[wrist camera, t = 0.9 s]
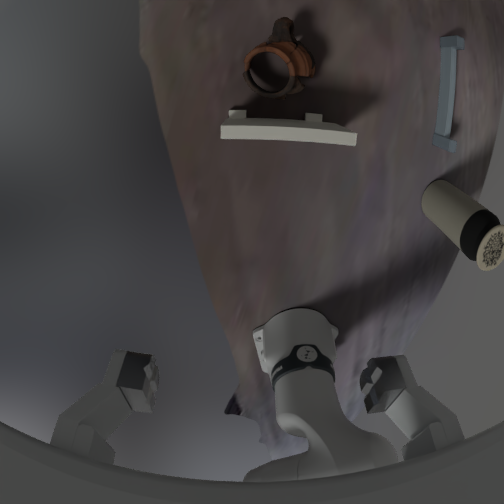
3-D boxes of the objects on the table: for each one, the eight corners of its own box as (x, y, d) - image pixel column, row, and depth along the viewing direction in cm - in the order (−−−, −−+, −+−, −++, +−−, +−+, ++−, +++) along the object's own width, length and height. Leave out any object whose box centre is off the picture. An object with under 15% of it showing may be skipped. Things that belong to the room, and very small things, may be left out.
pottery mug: (320, 93, 38) (303, 107, 33) (261, 87, 41) (236, 101, 37) (320, 18, 30) (302, 17, 25) (257, 17, 33) (229, 19, 28)
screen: (333, 140, 41) (354, 155, 33) (227, 135, 41) (220, 148, 33) (335, 115, 39) (358, 123, 31) (227, 109, 39) (220, 115, 31)
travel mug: (420, 222, 48) (472, 278, 33) (419, 182, 44) (480, 230, 29) (452, 214, 47) (507, 264, 32) (453, 176, 43) (516, 219, 28)
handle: (439, 145, 41) (455, 153, 36) (432, 144, 41) (448, 151, 36) (447, 40, 30) (464, 38, 26) (440, 37, 30) (457, 35, 26)
